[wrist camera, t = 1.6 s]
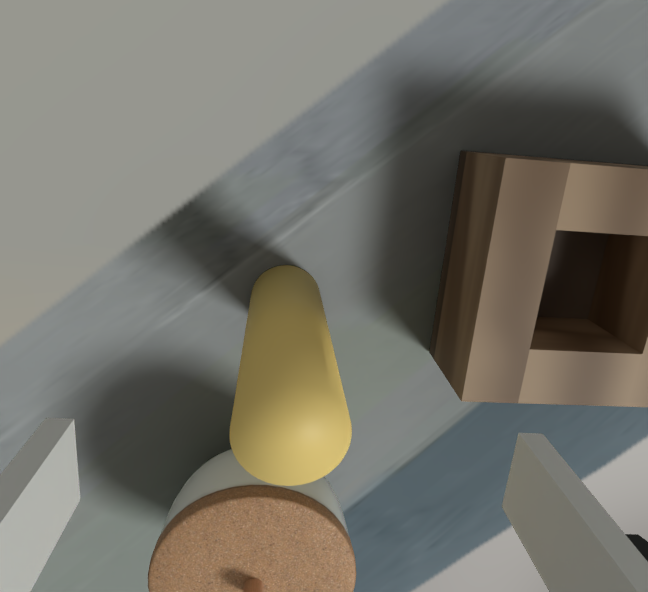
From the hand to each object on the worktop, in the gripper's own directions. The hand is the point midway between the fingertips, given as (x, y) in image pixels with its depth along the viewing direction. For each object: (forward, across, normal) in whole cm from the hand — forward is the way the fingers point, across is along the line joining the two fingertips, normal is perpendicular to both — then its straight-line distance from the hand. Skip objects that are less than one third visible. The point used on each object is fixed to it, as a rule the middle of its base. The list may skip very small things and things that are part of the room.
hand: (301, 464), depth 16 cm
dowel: (+16, 0, 0) cm, 16 cm away
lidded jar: (+16, -2, -13) cm, 21 cm away
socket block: (+16, +14, +3) cm, 22 cm away
